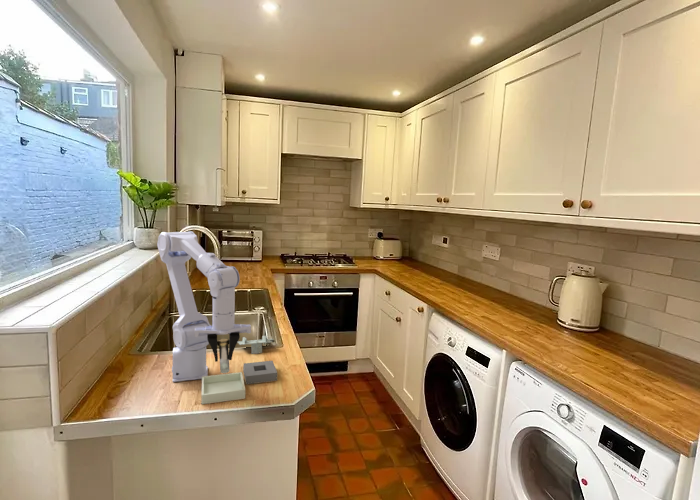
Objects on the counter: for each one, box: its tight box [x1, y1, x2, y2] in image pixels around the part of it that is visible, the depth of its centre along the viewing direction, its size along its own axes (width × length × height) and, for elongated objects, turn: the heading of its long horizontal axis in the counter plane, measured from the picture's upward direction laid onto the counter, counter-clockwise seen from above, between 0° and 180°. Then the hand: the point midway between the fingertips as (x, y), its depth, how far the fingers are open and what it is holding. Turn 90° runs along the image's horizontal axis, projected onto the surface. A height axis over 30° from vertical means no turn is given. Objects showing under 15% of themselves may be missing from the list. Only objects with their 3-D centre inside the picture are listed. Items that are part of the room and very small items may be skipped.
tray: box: [200, 371, 246, 405], centre depth 104 cm, size 11×11×2 cm
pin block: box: [242, 360, 278, 385], centre depth 114 cm, size 9×9×2 cm
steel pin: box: [217, 338, 231, 374], centre depth 103 cm, size 3×3×9 cm
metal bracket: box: [237, 335, 274, 355], centre depth 137 cm, size 14×6×15 cm
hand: (223, 359), depth 103 cm, fingers closed on steel pin, 3 cm apart
